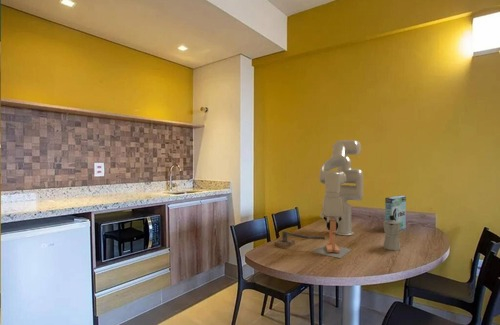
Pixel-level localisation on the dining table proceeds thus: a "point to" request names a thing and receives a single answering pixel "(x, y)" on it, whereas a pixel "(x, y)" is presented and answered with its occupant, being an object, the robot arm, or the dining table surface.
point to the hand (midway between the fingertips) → (332, 229)
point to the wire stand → (287, 243)
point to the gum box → (396, 209)
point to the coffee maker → (391, 234)
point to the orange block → (332, 238)
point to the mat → (323, 251)
